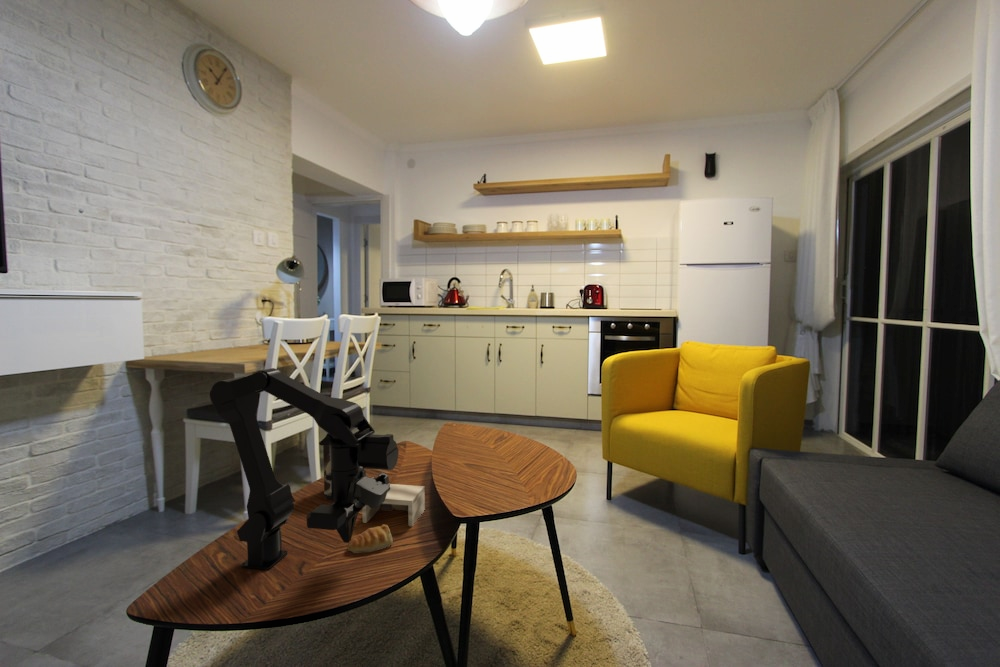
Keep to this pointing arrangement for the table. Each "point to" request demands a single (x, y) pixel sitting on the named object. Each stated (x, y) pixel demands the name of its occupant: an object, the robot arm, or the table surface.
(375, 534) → the pastry
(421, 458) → the table surface
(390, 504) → the plain beige box
